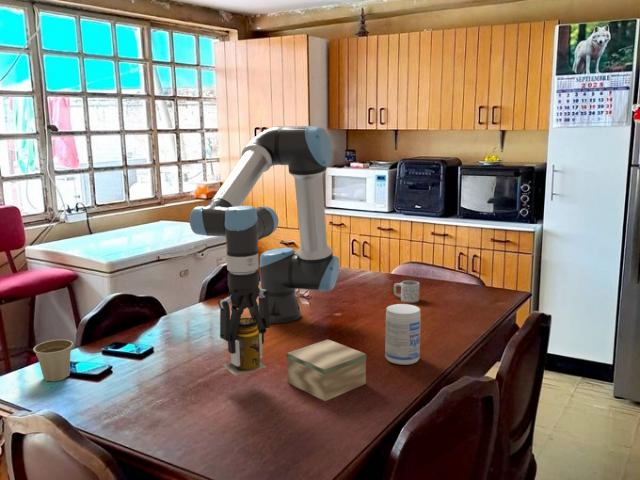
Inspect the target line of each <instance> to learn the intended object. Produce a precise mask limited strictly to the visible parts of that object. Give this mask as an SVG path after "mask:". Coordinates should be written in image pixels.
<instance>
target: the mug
mask: <svg viewBox="0 0 640 480" xmlns="http://www.w3.org/2000/svg"><path fill="white" fill-rule="evenodd" d="M397 287H400V293H398V292H397ZM393 294H394V295H395V296H397V297H398V298H400V301H401V302H403V303H408V304H409V303H410V304H411V303H412V304H414V303H418V302H419V301H420V282H419V281H416V280H403V281H401V282H396V283H394V285H393Z"/></svg>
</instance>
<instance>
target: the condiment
mask: <svg viewBox="0 0 640 480" xmlns="http://www.w3.org/2000/svg"><path fill="white" fill-rule="evenodd" d="M236 339H237V340H239V349H240V366H236V365H234V364H232V363H231V362H229V363H224V364H223V365H222V366H223V367H224V368H225V369H226V370H228V371H229V373H232V374H233V375H234V376H239V375H242V374H247V373H252V372H255V371H258V370H261V369H266V368H267V366H266V365H265V364H263V363H261V359H260V350H259V331H258V329H257V320H256V319H254V318H251V317H241V319H240V324H239V328H238V333H237V338H236Z"/></svg>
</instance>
